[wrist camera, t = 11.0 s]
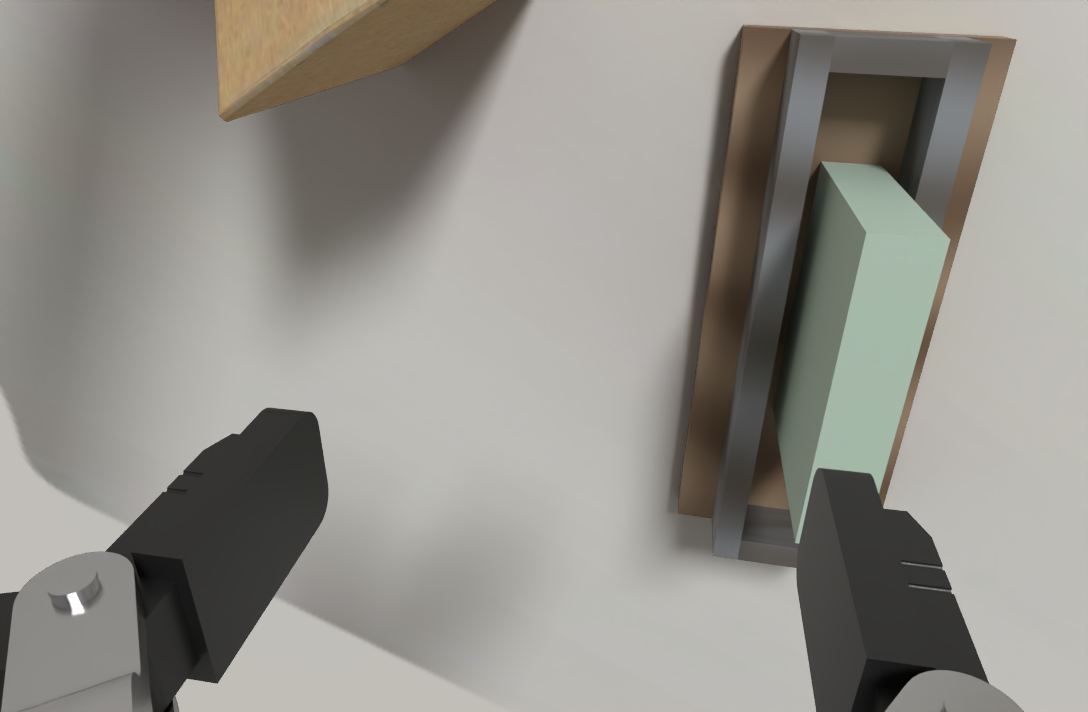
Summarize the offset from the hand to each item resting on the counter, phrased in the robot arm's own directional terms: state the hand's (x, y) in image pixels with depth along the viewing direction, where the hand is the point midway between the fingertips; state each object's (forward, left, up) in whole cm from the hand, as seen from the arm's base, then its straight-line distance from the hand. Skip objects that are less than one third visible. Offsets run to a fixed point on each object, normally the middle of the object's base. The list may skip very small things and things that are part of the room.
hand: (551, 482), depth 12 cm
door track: (+6, +8, -25) cm, 28 cm away
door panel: (+5, +8, -24) cm, 26 cm away
